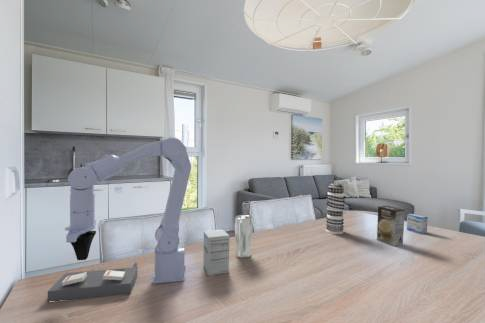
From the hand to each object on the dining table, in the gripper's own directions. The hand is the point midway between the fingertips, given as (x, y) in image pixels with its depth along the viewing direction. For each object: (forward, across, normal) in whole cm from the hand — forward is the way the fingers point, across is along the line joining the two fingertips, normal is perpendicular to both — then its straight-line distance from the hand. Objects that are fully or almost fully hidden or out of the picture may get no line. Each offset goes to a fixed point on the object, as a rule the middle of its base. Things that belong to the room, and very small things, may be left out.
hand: (82, 259), depth 68 cm
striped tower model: (+10, -37, +104) cm, 111 cm away
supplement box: (+10, -7, +38) cm, 40 cm away
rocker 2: (+5, 0, +8) cm, 10 cm away
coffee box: (+10, -18, +120) cm, 122 cm away
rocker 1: (+5, 0, -2) cm, 6 cm away
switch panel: (+9, -6, +3) cm, 12 cm away
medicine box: (+10, -29, +148) cm, 151 cm away
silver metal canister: (+10, -17, +50) cm, 54 cm away
